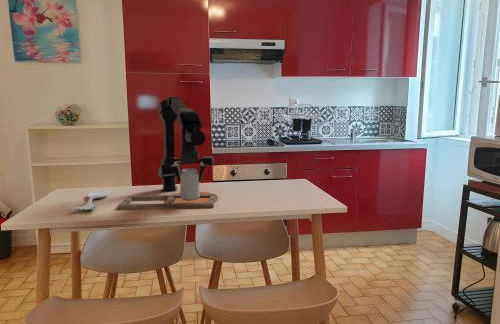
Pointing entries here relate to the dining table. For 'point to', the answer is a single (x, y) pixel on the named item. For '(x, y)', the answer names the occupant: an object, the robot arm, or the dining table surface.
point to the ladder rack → (167, 204)
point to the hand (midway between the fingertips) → (189, 182)
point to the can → (189, 184)
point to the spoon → (91, 196)
